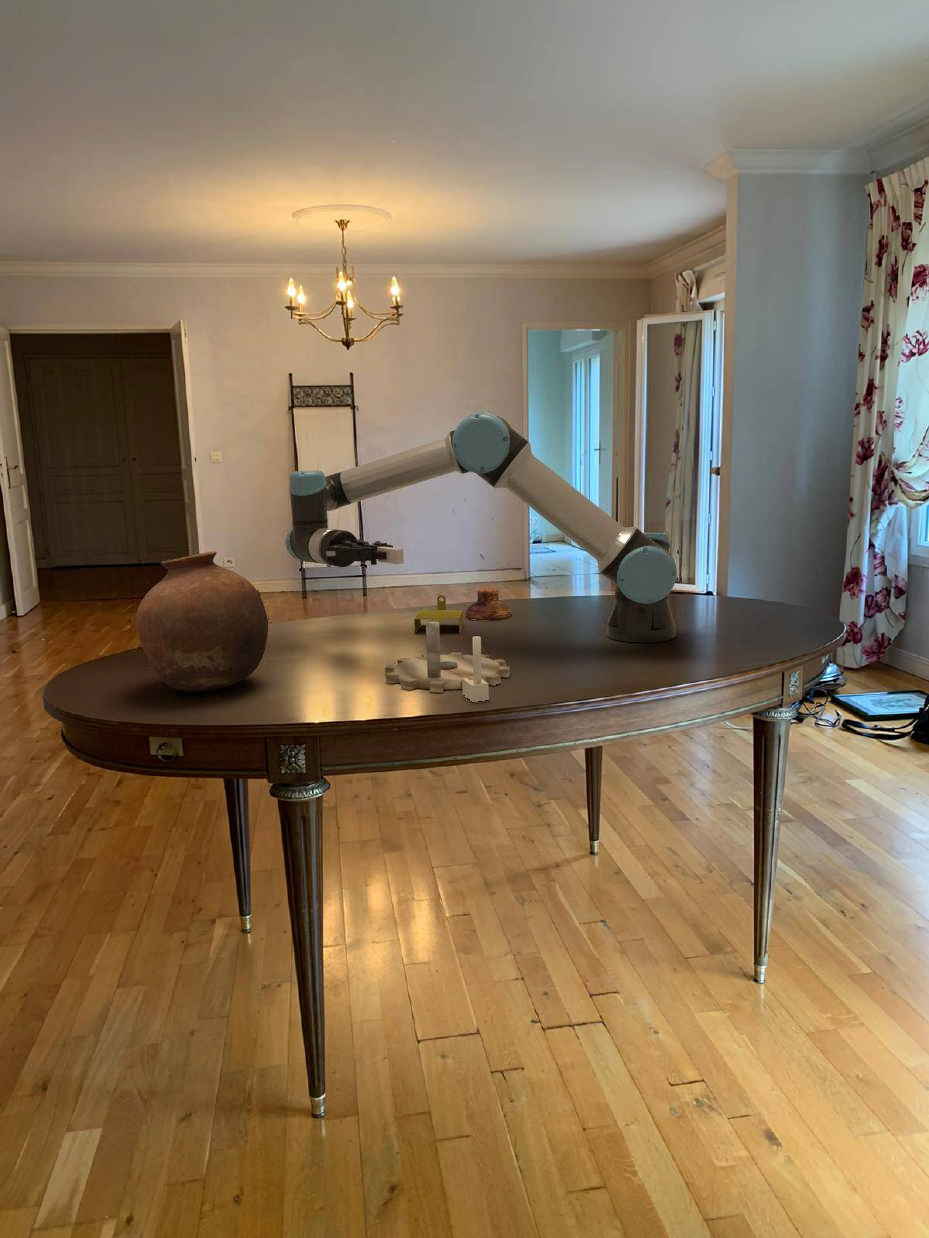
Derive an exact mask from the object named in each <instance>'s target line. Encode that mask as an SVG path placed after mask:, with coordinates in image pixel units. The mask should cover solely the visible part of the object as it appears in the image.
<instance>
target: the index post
mask: <svg viewBox="0 0 929 1238" xmlns="http://www.w3.org/2000/svg"><path fill="white" fill-rule="evenodd" d="M481 654H482V637H481V636H478V635H477V636H472V656H473V676H469V677H468V678H462V686H463V690H462V696H463V695H465V696H464V697H465V699H467V698H468V699H470V701H469V702H471V701H472V702H474V703H479V702H478V701H482V702H486V701H485V700H489V701H490V699H489V698H490V696H489V695H490V694H489V685H488V683H487V682H485V681H484V680H483V679H482V674H481ZM468 699H467V700H468ZM472 702H471V703H472Z"/></svg>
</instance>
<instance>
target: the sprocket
mask: <svg viewBox="0 0 929 1238" xmlns="http://www.w3.org/2000/svg"><path fill="white" fill-rule="evenodd" d="M425 635H426V653H423V654H421V656H420V657H415V658H409V657H402V658H399V659H397V661H396V663H397V664H387V665H386V666H385V667H384V674H385V682H386V683H388V684H391V685H392V684H396V683H397V684H398V683H400V689H402V690H403V689H404V690H407V691H412V690H414V689H417V688H418V689H424V690H426V689H427V690H429V692H430V693H443V692H444V691H445V690H459V689H461V690H462V691H463V686H462V678H468V677H469V676H473V654H472V655H471V654H463V652H461V651H457V652H455V651H454V652H453V651H452V652H450V654H449V653H448V654H441V643H440V642H441V639H440V636H441V635H440V622H437V621H434V622H431V621H426V622H425ZM510 668H511V666H507V661H506V660H504V659H503V658H498V659H491V658H490V655H488V654H482V653H481V674H482V679H483V680H484V681H485V682H487V683H488V686H489V685H490V686H496V684H497V685H499V684H501V683H502V678H509V677H510V674H511V672H510V671H511V670H510Z"/></svg>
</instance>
